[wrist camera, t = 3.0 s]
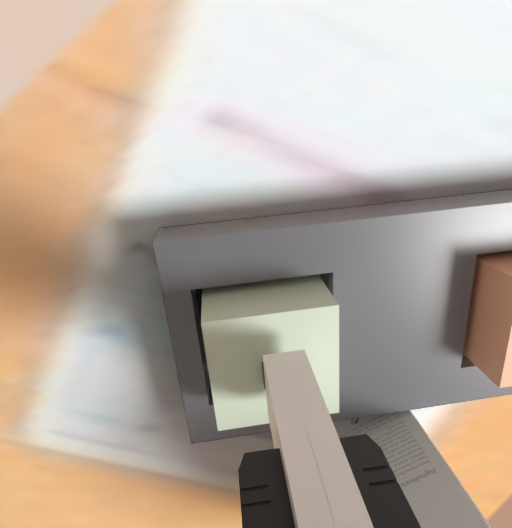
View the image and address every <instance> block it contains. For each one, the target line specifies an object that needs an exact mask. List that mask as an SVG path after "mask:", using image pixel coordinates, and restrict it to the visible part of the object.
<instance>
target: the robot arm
mask: <svg viewBox="0 0 512 528" xmlns="http://www.w3.org/2000/svg"><path fill="white" fill-rule="evenodd" d="M263 365H264V376H265V387H266V398H267V409H268V418H269V423H270V429H271V434H272V439H273V445H274V449H270V450H263V451H256V452H250V453H245V454H244V456H243V459H242V462H241V465H240V467H239V470H238V471H239V485H240V499H241V512H242V526H243V528H421V526H420V524H419V522H418V520H417V518H416V516H415V514H414V512H413V511H412V509H411V507H410V505H409V503H408V501H407V499H406V497H405V495H404V493H403V491H402V489H401V487H400V485H399V483H398V482H397V479H396V477H395V475H394V473H393V471H392V469H391V468H390V466H389V463H388V461H387V459H386V457H385V455H384V453H383V451H382V449H381V447H380V446H379V445H378V444H376V443H375V442H374V441H373V440H372V439H371V438H370V437H369V436H368V435H367V434H363V435H356V436H349V437H343V438H339V437H338V434H337V432H336V429H335V427H334V424H333V422H332V419H331V416H330V414H329V411H328V409H327V406H326V404H325V401H324V398H323V396H322V393H321V391H320V388H319V386H318V383H317V380H316V378H315V375H314V373H313V370H312V368H311V365H310V362H309V360H308V357H307V355H306V352H305V350H297V351H290V352H282V353H275V354H267V355H263Z"/></svg>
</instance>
